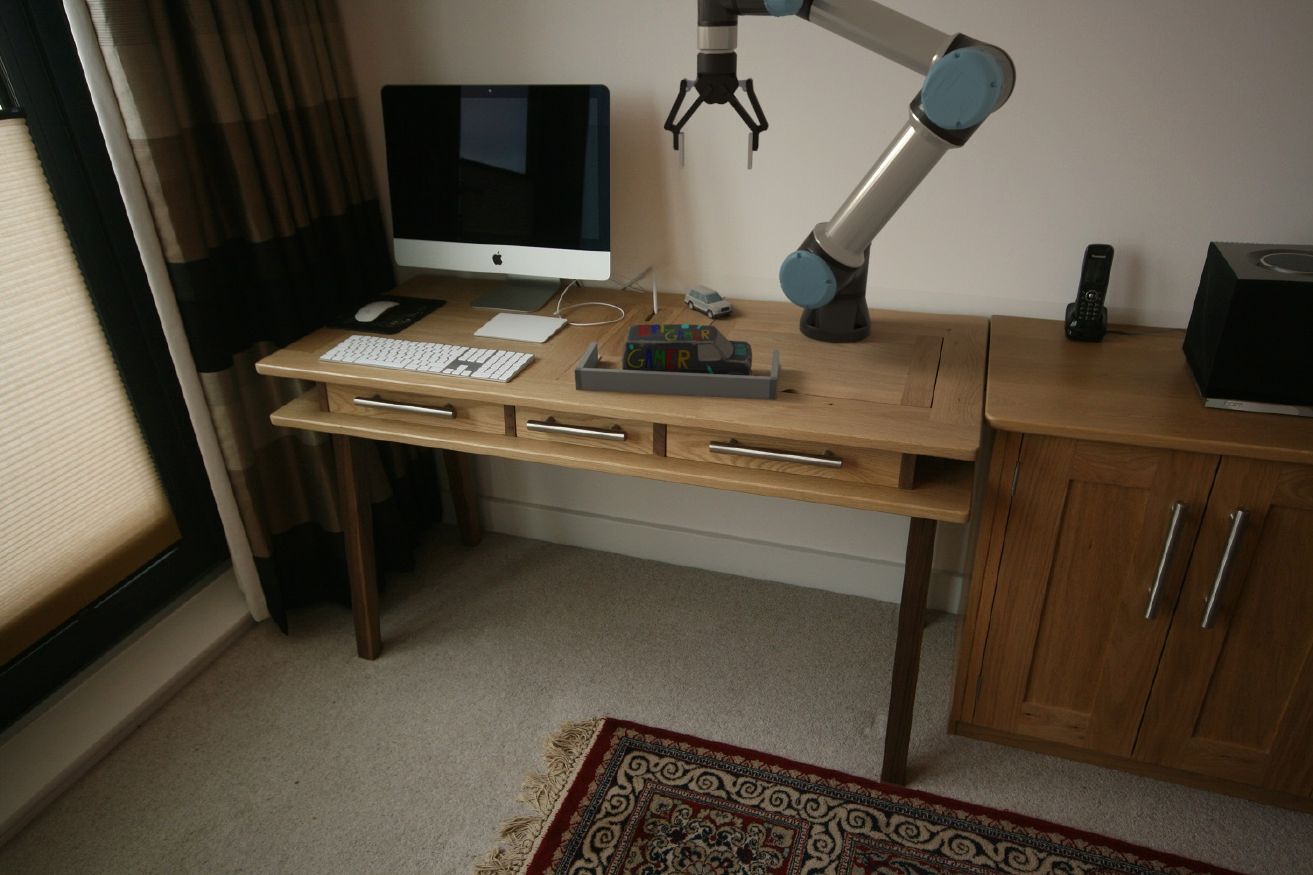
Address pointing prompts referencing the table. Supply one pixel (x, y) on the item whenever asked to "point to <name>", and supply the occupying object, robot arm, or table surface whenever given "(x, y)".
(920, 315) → the table surface
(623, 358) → the toy van
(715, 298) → the toy car
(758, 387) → the bay
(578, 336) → the table surface
